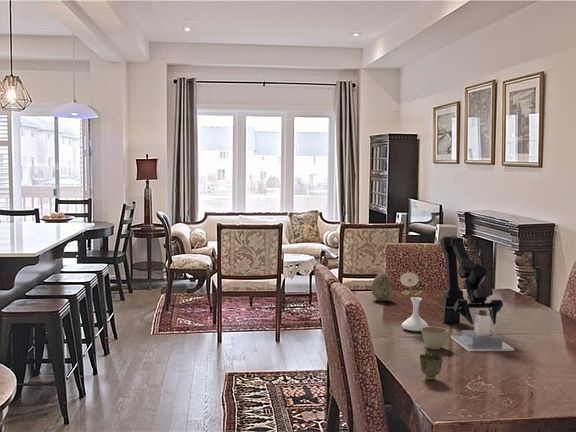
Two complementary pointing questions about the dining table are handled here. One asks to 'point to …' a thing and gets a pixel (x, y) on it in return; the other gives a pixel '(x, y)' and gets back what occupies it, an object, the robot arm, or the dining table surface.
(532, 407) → the dining table surface
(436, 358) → the cup
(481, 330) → the plug
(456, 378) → the dining table surface
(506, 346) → the grey square frame
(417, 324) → the flower in vase
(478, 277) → the robot arm
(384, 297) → the decorative egg
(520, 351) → the dining table surface
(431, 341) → the flower pot
